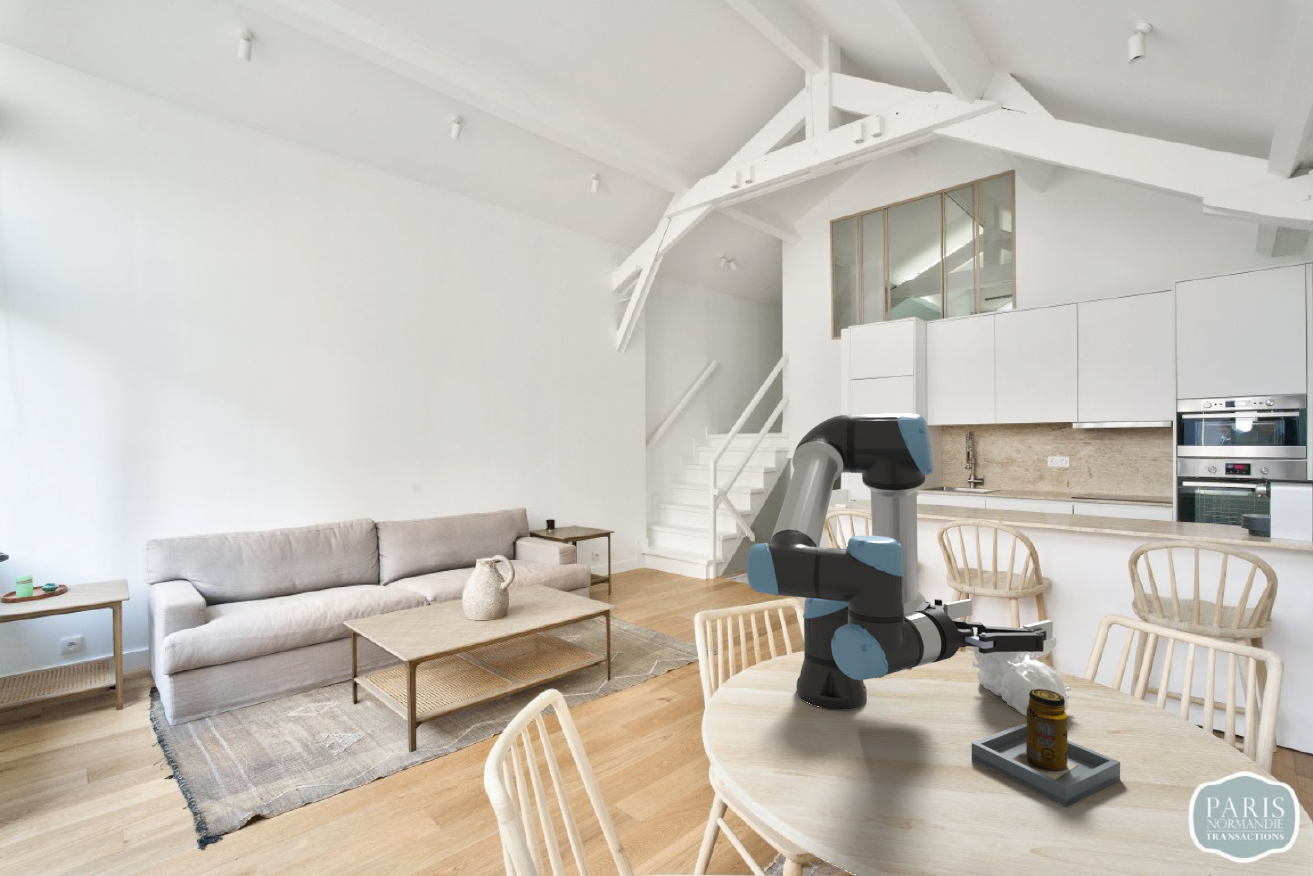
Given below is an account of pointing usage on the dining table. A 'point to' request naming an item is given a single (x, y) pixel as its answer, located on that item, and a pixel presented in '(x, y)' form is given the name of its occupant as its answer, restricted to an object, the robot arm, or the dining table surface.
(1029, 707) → the condiment
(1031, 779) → the tray
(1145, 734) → the dining table surface
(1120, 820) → the dining table surface
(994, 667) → the white lumpy sculpture
